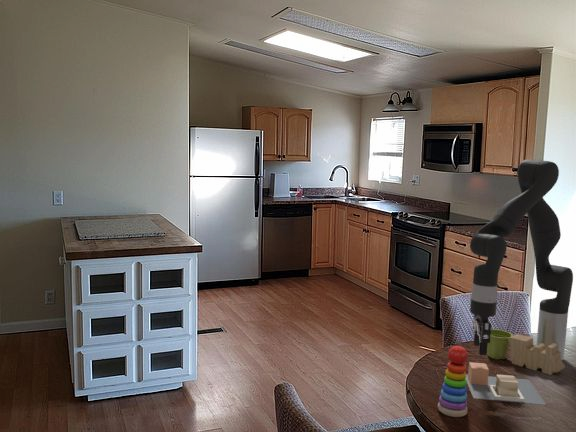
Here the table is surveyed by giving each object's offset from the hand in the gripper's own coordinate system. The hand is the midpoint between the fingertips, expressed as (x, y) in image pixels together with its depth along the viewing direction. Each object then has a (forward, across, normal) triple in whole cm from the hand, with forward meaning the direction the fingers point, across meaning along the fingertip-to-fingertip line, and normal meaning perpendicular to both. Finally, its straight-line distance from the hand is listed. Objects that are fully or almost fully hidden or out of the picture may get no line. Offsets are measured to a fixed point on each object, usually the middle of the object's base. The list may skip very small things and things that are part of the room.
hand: (479, 349), depth 172 cm
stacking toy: (+12, -21, +10) cm, 26 cm away
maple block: (+10, -8, -7) cm, 15 cm away
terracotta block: (+10, 0, 0) cm, 10 cm away
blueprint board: (+11, -4, -7) cm, 14 cm away
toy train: (+11, +17, -22) cm, 30 cm away
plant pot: (+11, +27, -12) cm, 32 cm away
